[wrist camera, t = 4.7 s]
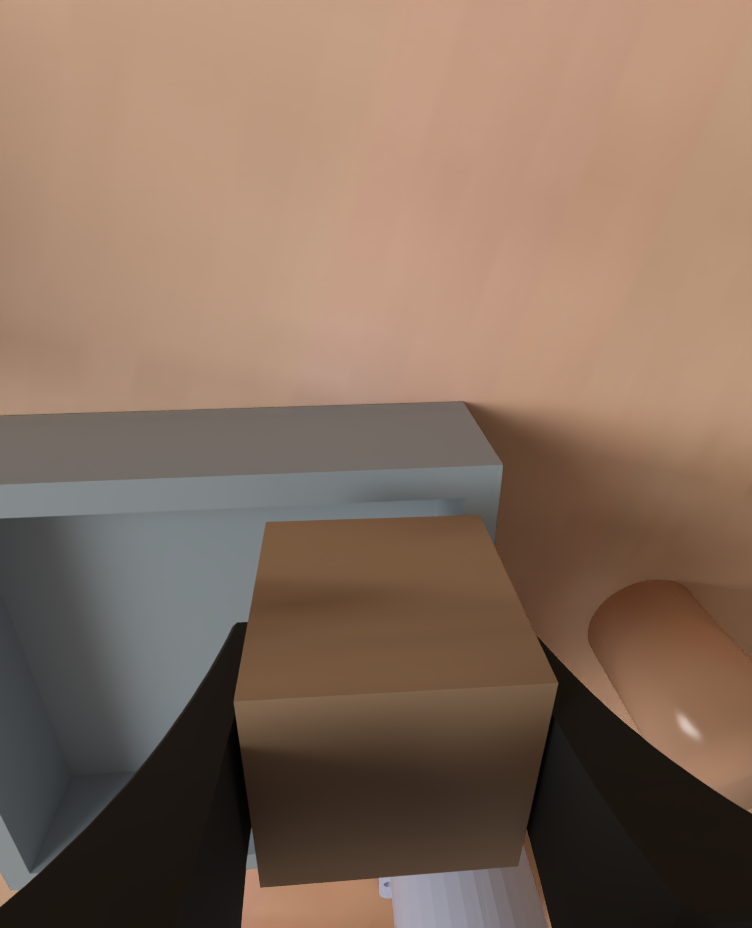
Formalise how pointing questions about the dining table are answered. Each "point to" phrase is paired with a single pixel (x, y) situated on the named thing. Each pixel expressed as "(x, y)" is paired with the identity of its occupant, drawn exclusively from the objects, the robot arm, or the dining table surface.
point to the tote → (171, 570)
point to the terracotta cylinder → (680, 682)
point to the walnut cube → (388, 701)
